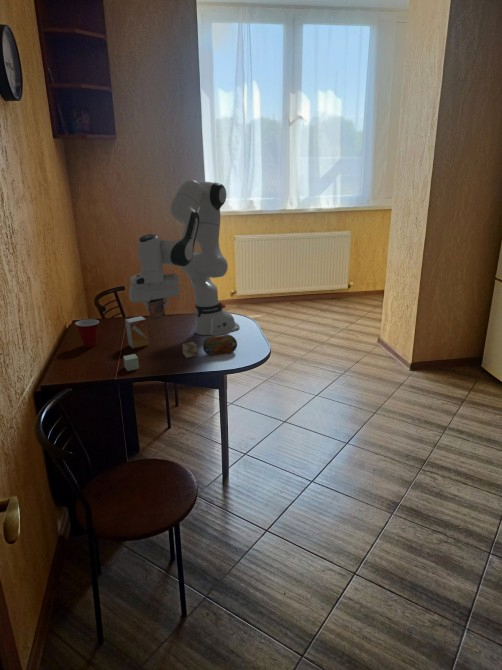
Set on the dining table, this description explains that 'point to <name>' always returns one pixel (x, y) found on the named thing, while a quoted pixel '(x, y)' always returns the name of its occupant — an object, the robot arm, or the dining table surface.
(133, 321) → the small box
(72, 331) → the dining table surface
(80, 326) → the plastic cup
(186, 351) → the cream rounded lump
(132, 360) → the sage block
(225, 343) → the tin
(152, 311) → the lighter
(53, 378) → the dining table surface
